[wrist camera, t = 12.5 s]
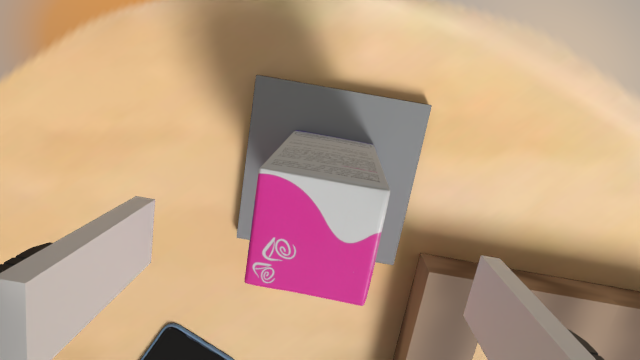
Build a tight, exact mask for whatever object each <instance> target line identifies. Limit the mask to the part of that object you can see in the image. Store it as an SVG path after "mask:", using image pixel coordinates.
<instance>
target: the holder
mask: <svg viewBox="0 0 640 360" xmlns="http://www.w3.org/2000/svg"><path fill="white" fill-rule="evenodd" d="M477 267H478V263H474V262H468V261H462V260H457V259H451V258H445V257H439V256H434V255H428V254H422V253H420V257H419V261H418V265H417V269H416V273H415V277H414V280H413V284H412V288H411V292H410V296H409V300H408V304H407V308H406V311H405V315H404V319H403V323H402V327H401V331H400V335H399V339H398V342H397V346H396V350H395V354H394V358H393V360H472V358H473V355H474V352H475V349H476V346H477V343H478V341H477V339H476V338H475V336H474V334H473V332H472V330H471V329H470V327H469V325H468V323H467V321H466V320H465V318H464V316H463V314H464V311H465V308H466V304H467V301H468V297H469V294H470V291H471V287H472V284H473V280H474V277H475V274H476V270H477ZM510 270H511V271H512V272H513V273H514V274H515V275H516V276H517V277H518V278H519V279H520V280H521V281H522V282H523V283H524V284H525V285H526V286H527V288H528V289H529V290H530V291H531V292H532V293H533V294H534V295H535V296H536V297H537V298H538V299H539V300H540V301H541V302H542V303H543V304H544V305H545V306H546V308H547V309H548V310H549V311H550V312H551V313H552V314H553V315H554V316H555V317H556V318H557V319H558V320H559V321H560V322H561V323H562V324H563V325H564V326H565V327H566V329H568V330H571V331H572V332H574V333H575V334H577V335H578V336H580V337H581V338H582V339H584V340H585V341H587V342H588V343H589V344H590V345H591V346H592V347H593V348H594V349H595V351H596V352H597V353H598V355H599V356H601V357H602V358H603V359H604V360H640V292H639V291H633V290H627V289H621V288H616V287H610V286H604V285H599V284H593V283H587V282H582V281H576V280H570V279H565V278H559V277H553V276H548V275H542V274H536V273H530V272H525V271H519V270H513V269H510Z"/></svg>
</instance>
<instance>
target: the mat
mask: <svg viewBox="0 0 640 360" xmlns="http://www.w3.org/2000/svg"><path fill="white" fill-rule="evenodd" d="M430 111H431V105H427V104H421V103H416V102H410V101H404V100H398V99H393V98H387V97H381V96H375V95H370V94H364V93H358V92H352V91H347V90H341V89H335V88H329V87H324V86H318V85H312V84H306V83H301V82H295V81H289V80H284V79H278V78H272V77H266V76H261V75H256V81H255V89H254V98H253V106H252V114H251V122H250V131H249V139H248V147H247V156H246V164H245V172H244V180H243V189H242V197H241V205H240V214H239V222H238V230H237V238H242V239H247V240H250V234H251V226H252V218H253V211H254V203H255V195H256V187H257V180H258V173H259V168H260V167H261V166H262V165H263V164H264V163H265V162H266V161H267V160H268V159H269V158H270V157H271V156H272V154H273V153H274V152H275V151H276V150H277V149H278V148H279V147H280V146H281V145H282V144H283V143H284V142H285V141H286V139H287V138H288V137H289V136H290V135H291V134H292V133H293V132H294V131H295V130H300V131H306V132H311V133H317V134H322V135H328V136H333V137H339V138H344V139H349V140H354V141H360V142H366V143H370V144H374V147H375V150H376V153H377V156H378V158H379V161H380V164H381V167H382V169H383V172H384V175H385V178H386V181H387V183H388V186H389V189H390V196H389V201H388V206H387V210H386V215H385V219H384V224H383V228H382V233H381V237H380V242H379V247H378V251H377V256H376V260H375V262H378V263H384V264H389V265H394V261H395V256H396V252H397V248H398V244H399V240H400V236H401V231H402V227H403V223H404V219H405V215H406V211H407V206H408V202H409V198H410V194H411V190H412V186H413V181H414V177H415V173H416V169H417V165H418V161H419V156H420V152H421V148H422V144H423V140H424V136H425V131H426V127H427V123H428V119H429V115H430Z"/></svg>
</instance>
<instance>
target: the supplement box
mask: <svg viewBox="0 0 640 360" xmlns="http://www.w3.org/2000/svg"><path fill="white" fill-rule="evenodd" d="M389 196H390V189H389V186H388V183H387V181H386V178H385V175H384V172H383V169H382V167H381V164H380V161H379V158H378V156H377V153H376V150H375V147H374V144H370V143H366V142H360V141H354V140H349V139H344V138H339V137H333V136H328V135H322V134H317V133H311V132H306V131H300V130H295V131H294V132H293V133H292V134H291V135H290V136H289V137H288V138H287V139H286V141H285V142H284V143H283V144H282V145H281V146H280V147H279V148H278V149H277V150H276V151H275V152H274V153H273V154H272V156H271V157H270V158H269V159H268V160H267V161H266V162H265V163H264V164H263V165H262V166H261V167H260V168H259V173H258V180H257V187H256V195H255V203H254V211H253V218H252V226H251V234H250V243H249V250H248V258H247V266H246V274H245V283H248V284H252V285H256V286H261V287H267V288H273V289H279V290H285V291H291V292H297V293H302V294H307V295H311V296H316V297H321V298H326V299H331V300H336V301H341V302H345V303H350V304H355V305H360V306H363V305H364V303H365V301H366V298H367V294H368V290H369V286H370V282H371V277H372V273H373V269H374V265H375V260H376V256H377V251H378V247H379V242H380V237H381V233H382V228H383V224H384V219H385V215H386V210H387V206H388V201H389Z"/></svg>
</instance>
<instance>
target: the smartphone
mask: <svg viewBox="0 0 640 360" xmlns="http://www.w3.org/2000/svg"><path fill="white" fill-rule="evenodd" d="M141 360H234V359H233V358H231V357H230V356H228V355H226V354H224V352H221V350H220V351H219V349H216V347H214V346H213V345H211V344H208V343H206V342H205V341H203V340H202V338H200V337H198V336H197V335H194V333H191V332H189V331H188V330H186V328H183V327H182V326H181V325H178V324H175V323H170V324H168V325H166V326H165V327H164V328H163V329H162V331H161V332H160V333H159V335H158V336H157V337H156V339H155V340H154V342H153V343H152V344H151V346H150V347H149V349H148V350H147V351H146V353H145V354H144V356H143V357H142V358H141Z"/></svg>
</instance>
